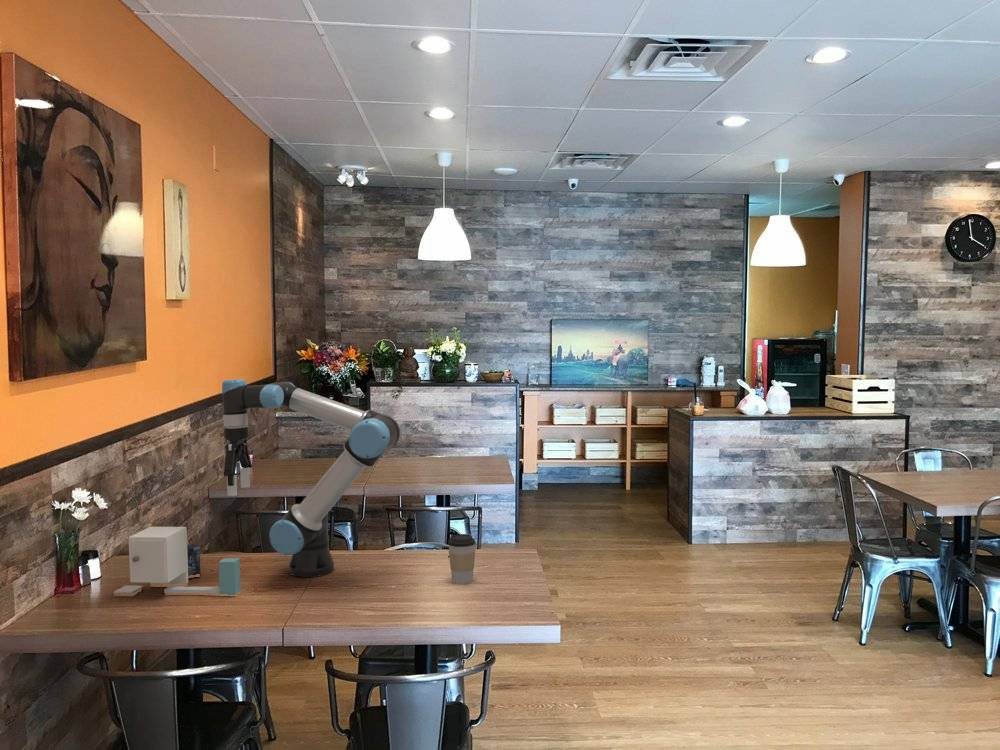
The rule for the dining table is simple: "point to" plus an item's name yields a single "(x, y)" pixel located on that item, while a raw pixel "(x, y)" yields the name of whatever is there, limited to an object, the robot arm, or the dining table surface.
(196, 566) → the box
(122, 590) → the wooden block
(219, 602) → the dining table surface
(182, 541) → the wall cabinet
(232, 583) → the hammer tool
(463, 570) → the coffee cup
